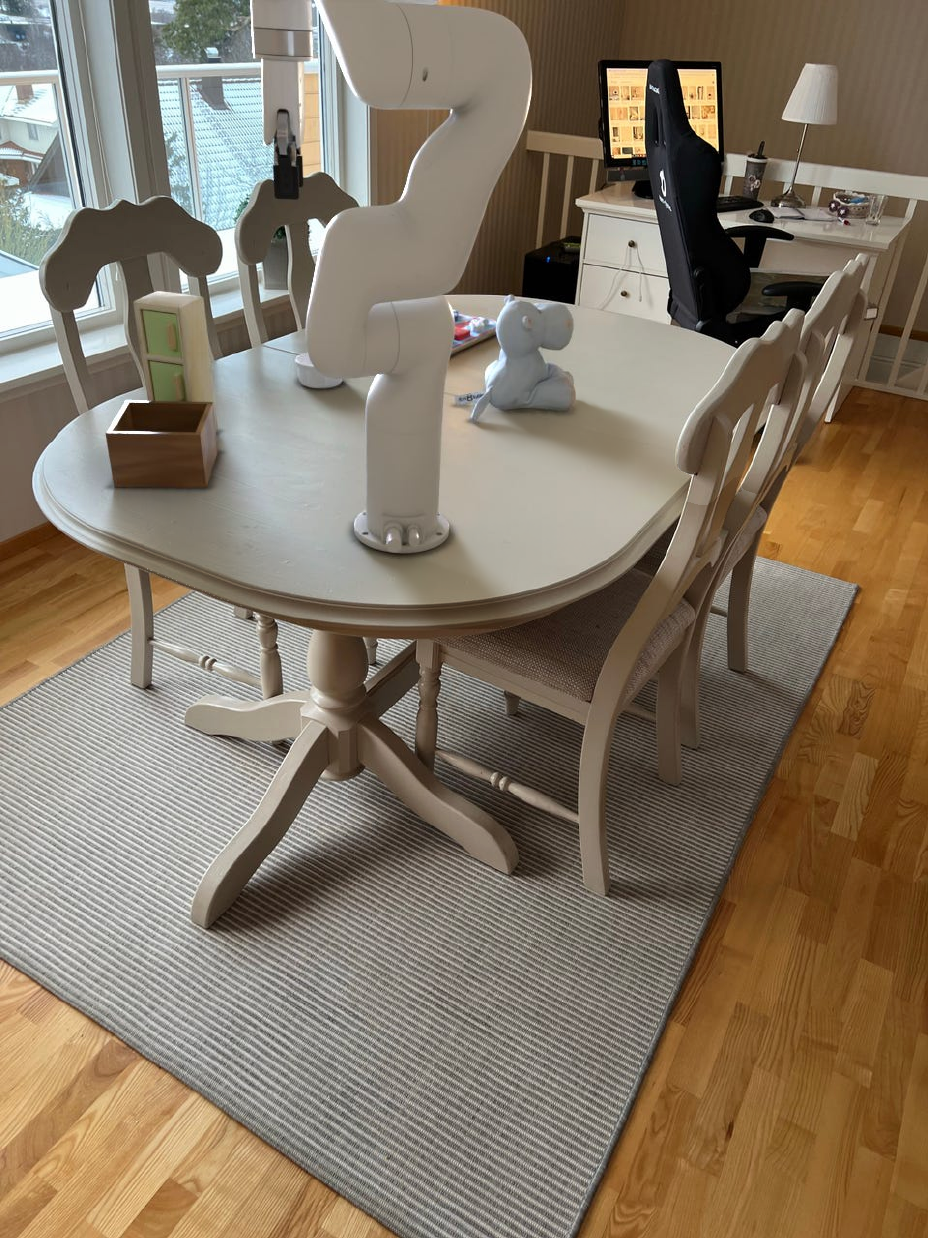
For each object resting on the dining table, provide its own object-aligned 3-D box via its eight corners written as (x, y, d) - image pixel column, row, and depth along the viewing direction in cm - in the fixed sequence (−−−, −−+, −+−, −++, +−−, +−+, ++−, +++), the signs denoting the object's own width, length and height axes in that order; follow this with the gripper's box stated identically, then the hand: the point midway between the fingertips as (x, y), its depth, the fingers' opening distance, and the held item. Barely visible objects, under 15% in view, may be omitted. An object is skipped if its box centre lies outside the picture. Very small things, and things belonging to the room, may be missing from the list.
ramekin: (291, 388, 168) (290, 364, 166) (301, 372, 175) (300, 349, 173) (340, 391, 168) (340, 367, 165) (348, 375, 175) (348, 352, 173)
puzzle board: (419, 310, 215) (420, 298, 213) (507, 330, 205) (508, 318, 204) (338, 341, 192) (338, 328, 191) (432, 364, 183) (433, 351, 181)
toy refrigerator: (148, 439, 146) (129, 301, 134) (174, 423, 152) (157, 289, 140) (194, 447, 144) (179, 308, 132) (218, 430, 150) (205, 296, 138)
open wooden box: (206, 488, 132) (200, 434, 128) (114, 486, 131) (105, 432, 127) (218, 452, 143) (213, 401, 139) (132, 450, 142) (125, 399, 137)
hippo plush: (593, 413, 165) (607, 307, 155) (471, 423, 158) (477, 312, 148) (552, 379, 179) (563, 280, 169) (438, 386, 173) (442, 283, 163)
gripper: (259, 41, 126) (267, 181, 135) (245, 47, 111) (255, 202, 121) (316, 45, 126) (319, 183, 136) (309, 50, 112) (314, 205, 121)
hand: (289, 192), depth 128 cm, fingers open, 9 cm apart
